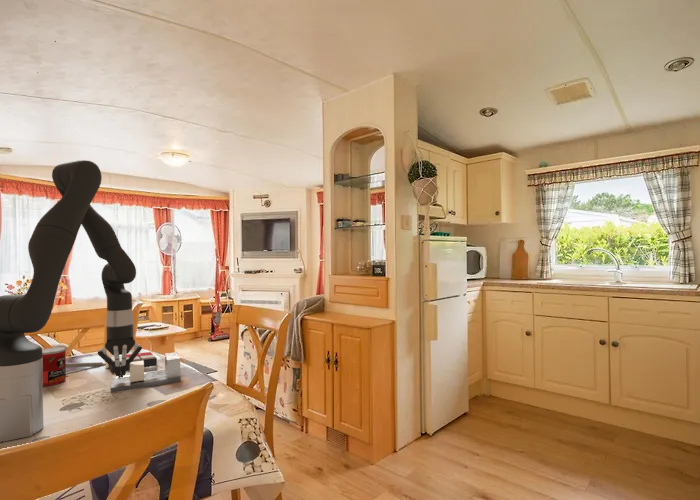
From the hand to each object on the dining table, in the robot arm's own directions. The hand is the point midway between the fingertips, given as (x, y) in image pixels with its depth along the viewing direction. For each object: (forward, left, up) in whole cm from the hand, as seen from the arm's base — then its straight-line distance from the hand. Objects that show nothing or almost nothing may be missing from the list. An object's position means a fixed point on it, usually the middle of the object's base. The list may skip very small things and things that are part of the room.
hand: (120, 376), depth 127 cm
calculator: (+26, -3, -4) cm, 26 cm away
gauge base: (+1, -7, -3) cm, 8 cm away
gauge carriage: (+2, -7, -1) cm, 7 cm away
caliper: (+30, +15, -4) cm, 34 cm away
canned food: (+18, +21, -3) cm, 27 cm away
